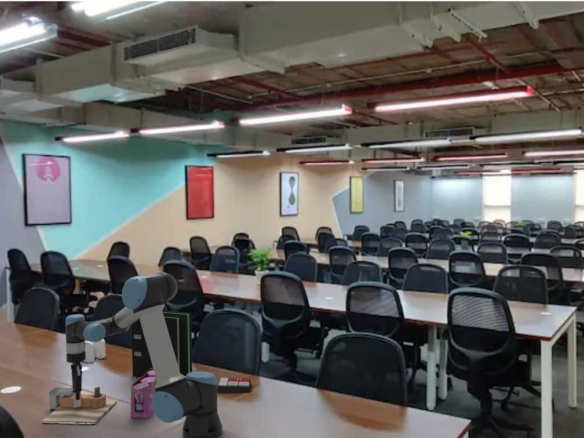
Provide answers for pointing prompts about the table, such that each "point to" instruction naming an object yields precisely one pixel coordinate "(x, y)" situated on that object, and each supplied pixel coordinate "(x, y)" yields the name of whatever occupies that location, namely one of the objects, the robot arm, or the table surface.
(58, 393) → the keeper
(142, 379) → the gum box
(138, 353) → the binder
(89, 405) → the link
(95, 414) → the plate
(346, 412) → the table surface
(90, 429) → the table surface
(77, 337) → the robot arm
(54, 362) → the table surface
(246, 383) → the calculator
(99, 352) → the cable organizer
